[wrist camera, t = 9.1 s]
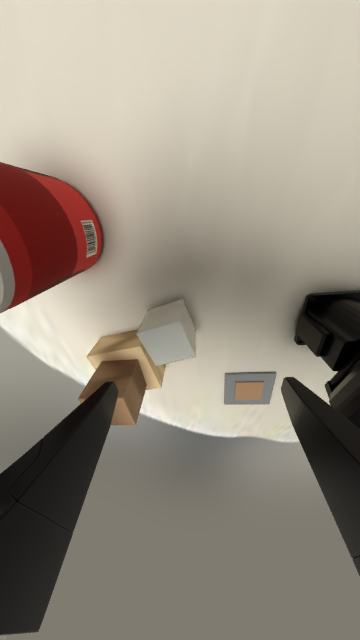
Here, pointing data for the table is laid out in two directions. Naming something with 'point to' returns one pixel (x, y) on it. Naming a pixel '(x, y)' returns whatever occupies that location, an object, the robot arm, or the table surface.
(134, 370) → the walnut block
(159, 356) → the grey block
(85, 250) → the canned food
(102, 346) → the oak base
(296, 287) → the table surface
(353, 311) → the robot arm
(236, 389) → the card
